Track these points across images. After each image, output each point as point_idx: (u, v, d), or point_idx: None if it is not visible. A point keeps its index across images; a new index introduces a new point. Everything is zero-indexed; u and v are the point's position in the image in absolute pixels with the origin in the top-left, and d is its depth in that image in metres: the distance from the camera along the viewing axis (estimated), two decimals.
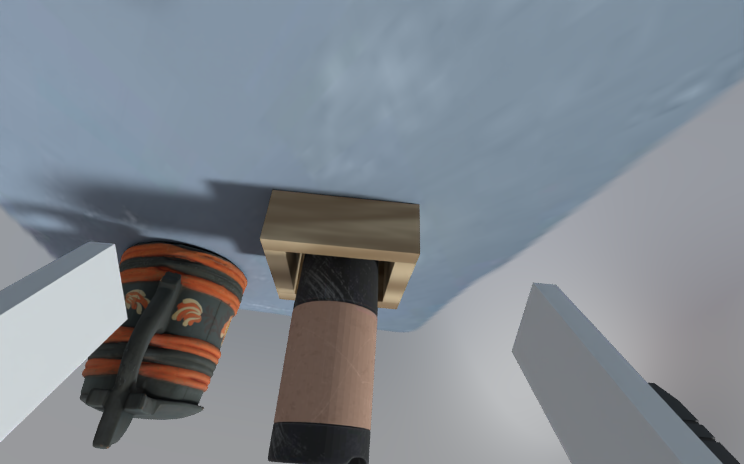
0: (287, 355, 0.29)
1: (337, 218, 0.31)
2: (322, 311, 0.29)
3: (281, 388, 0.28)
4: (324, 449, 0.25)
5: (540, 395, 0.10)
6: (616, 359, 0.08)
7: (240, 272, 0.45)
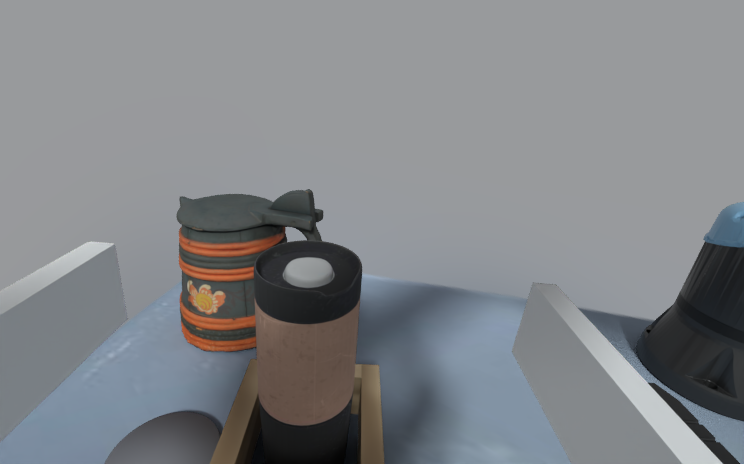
0: None
1: None
2: None
3: None
4: None
5: (539, 395, 0.10)
6: (617, 359, 0.08)
7: (237, 349, 0.44)
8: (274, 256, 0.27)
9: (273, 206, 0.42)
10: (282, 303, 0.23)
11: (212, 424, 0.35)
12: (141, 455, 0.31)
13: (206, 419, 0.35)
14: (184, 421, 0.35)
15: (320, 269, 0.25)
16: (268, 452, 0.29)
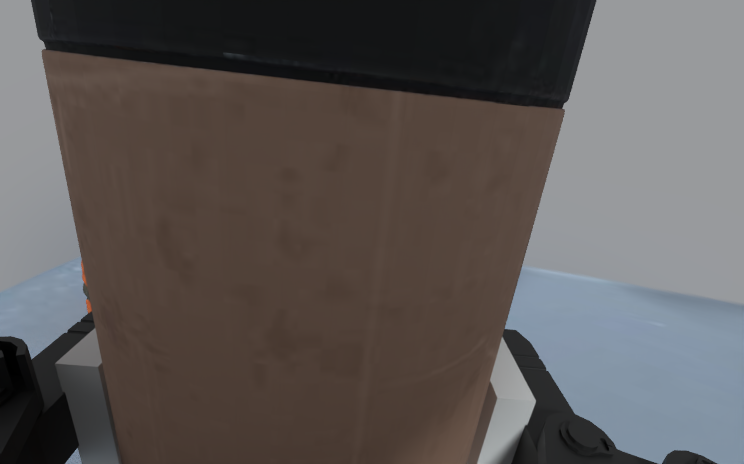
0: None
1: None
2: None
3: None
4: None
5: None
6: None
7: None
8: None
9: None
10: None
11: None
12: None
13: None
14: None
15: None
16: None
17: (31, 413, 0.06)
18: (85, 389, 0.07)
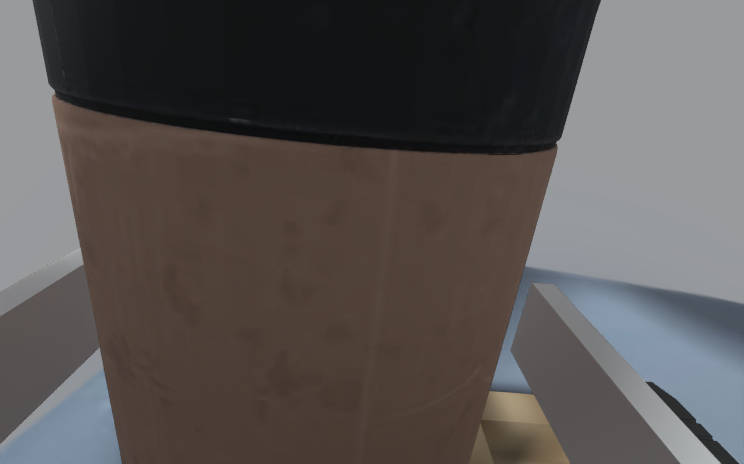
0: None
1: None
2: None
3: None
4: None
5: (538, 394, 0.11)
6: (614, 358, 0.08)
7: None
8: None
9: None
10: None
11: None
12: None
13: None
14: None
15: None
16: None
17: None
18: None
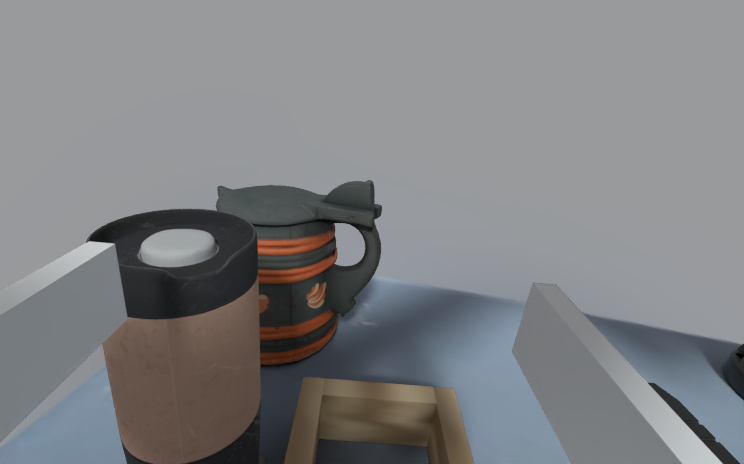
0: None
1: None
2: (260, 385, 0.23)
3: None
4: (251, 260, 0.18)
5: (540, 395, 0.10)
6: (617, 359, 0.08)
7: (277, 362, 0.38)
8: (143, 227, 0.20)
9: (327, 199, 0.37)
10: None
11: (259, 455, 0.29)
12: None
13: None
14: None
15: (193, 243, 0.18)
16: None
17: None
18: None
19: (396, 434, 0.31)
